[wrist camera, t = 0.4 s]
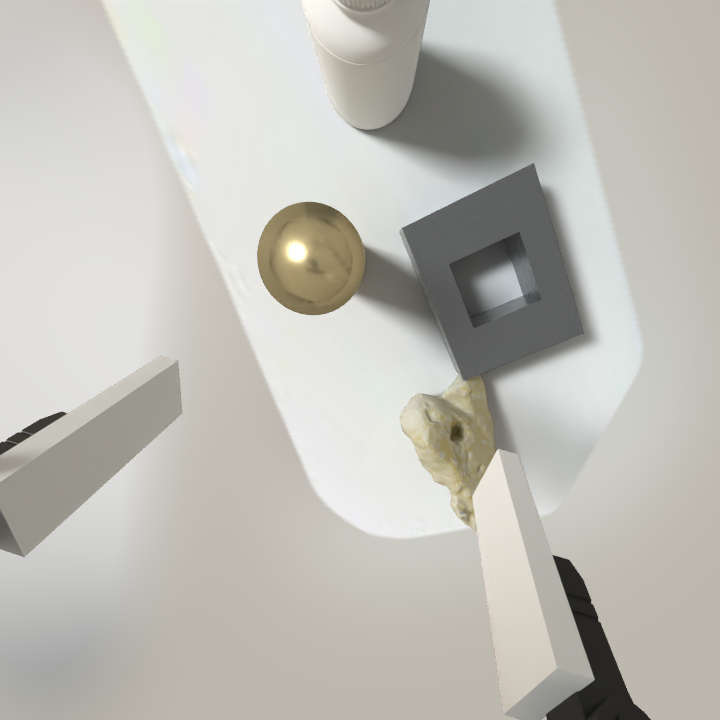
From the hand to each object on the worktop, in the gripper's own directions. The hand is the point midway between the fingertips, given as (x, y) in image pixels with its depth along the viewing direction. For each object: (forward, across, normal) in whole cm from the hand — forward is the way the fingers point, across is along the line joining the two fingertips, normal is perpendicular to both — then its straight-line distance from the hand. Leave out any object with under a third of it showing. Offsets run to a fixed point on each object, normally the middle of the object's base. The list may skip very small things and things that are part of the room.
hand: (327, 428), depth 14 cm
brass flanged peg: (+25, -6, +1) cm, 25 cm away
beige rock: (+23, +12, -15) cm, 30 cm away
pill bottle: (+28, -6, +16) cm, 33 cm away
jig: (+26, +9, +2) cm, 28 cm away
